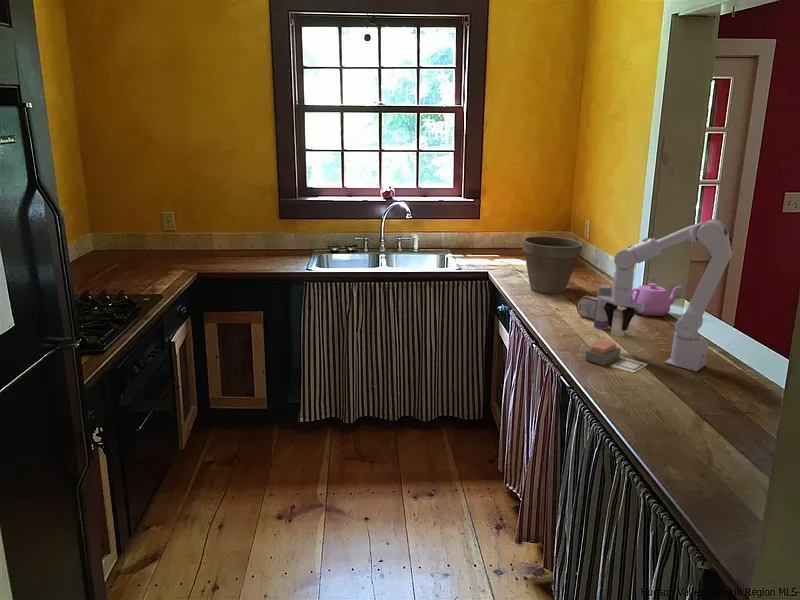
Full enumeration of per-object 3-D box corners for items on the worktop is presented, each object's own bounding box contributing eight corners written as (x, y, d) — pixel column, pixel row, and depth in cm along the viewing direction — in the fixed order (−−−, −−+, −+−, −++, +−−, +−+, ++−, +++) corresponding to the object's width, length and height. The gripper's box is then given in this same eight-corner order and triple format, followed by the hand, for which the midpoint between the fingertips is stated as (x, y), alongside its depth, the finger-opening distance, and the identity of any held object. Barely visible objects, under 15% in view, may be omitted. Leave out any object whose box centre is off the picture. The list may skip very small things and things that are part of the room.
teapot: (631, 317, 243) (635, 287, 240) (620, 307, 256) (624, 278, 253) (685, 319, 243) (689, 288, 239) (671, 309, 255) (675, 280, 252)
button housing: (619, 357, 201) (620, 348, 200) (603, 365, 193) (605, 356, 193) (601, 352, 205) (602, 343, 204) (585, 360, 198) (586, 350, 197)
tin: (615, 323, 235) (618, 301, 233) (611, 325, 233) (614, 302, 231) (578, 314, 245) (580, 293, 243) (574, 316, 243) (576, 294, 241)
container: (596, 324, 233) (601, 284, 229) (609, 327, 231) (614, 286, 227) (591, 327, 230) (595, 286, 226) (604, 330, 227) (608, 289, 223)
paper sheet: (647, 364, 195) (647, 363, 195) (633, 373, 188) (633, 372, 188) (625, 358, 200) (626, 357, 199) (610, 366, 193) (610, 365, 193)
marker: (626, 334, 206) (628, 310, 204) (620, 337, 203) (623, 313, 201) (614, 331, 208) (617, 307, 206) (608, 334, 206) (611, 310, 203)
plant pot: (589, 292, 277) (595, 243, 271) (550, 300, 264) (554, 248, 258) (546, 280, 297) (550, 234, 291) (507, 287, 283) (510, 238, 277)
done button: (615, 349, 200) (616, 343, 199) (603, 355, 194) (603, 349, 194) (603, 346, 202) (604, 340, 202) (591, 351, 197) (591, 346, 196)
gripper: (650, 289, 199) (645, 330, 203) (607, 280, 209) (602, 320, 213) (640, 293, 194) (635, 335, 198) (596, 284, 204) (592, 325, 208)
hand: (617, 328), depth 205 cm, fingers closed on marker, 4 cm apart
